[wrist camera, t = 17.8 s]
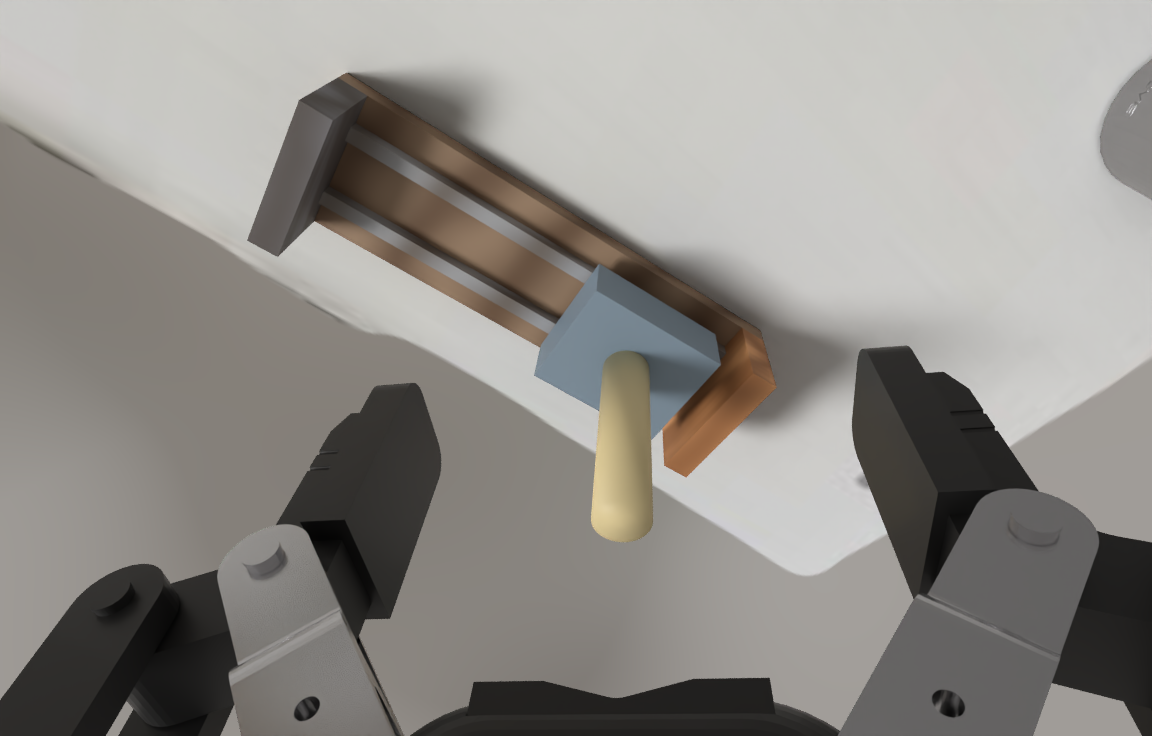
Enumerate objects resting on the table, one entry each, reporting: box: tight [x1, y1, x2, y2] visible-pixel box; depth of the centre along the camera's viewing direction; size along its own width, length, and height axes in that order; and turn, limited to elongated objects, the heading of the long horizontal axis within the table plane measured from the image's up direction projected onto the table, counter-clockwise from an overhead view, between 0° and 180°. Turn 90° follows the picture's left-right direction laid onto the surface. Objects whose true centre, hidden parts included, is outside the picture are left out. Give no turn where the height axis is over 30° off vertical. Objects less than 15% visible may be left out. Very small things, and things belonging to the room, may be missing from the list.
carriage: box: [534, 264, 721, 542], centre depth 43 cm, size 10×8×18 cm
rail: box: [247, 73, 777, 477], centre depth 48 cm, size 34×10×8 cm, turn 58°
